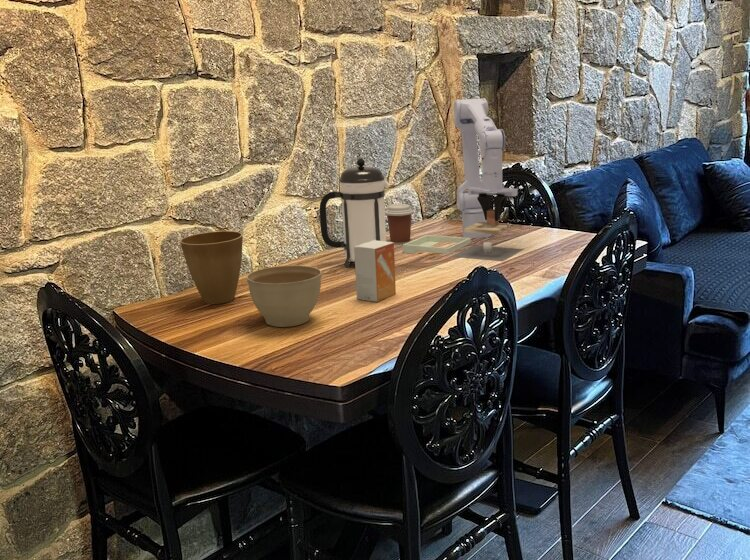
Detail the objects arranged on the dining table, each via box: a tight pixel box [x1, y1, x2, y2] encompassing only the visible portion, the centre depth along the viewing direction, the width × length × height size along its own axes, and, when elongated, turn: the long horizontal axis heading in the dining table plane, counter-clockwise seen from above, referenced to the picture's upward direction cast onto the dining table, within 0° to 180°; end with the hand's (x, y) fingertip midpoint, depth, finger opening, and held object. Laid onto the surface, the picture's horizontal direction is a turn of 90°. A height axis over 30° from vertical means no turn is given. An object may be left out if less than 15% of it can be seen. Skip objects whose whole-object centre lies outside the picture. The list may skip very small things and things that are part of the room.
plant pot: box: [179, 230, 244, 305], centre depth 175 cm, size 15×15×16 cm
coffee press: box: [319, 158, 391, 269], centre depth 203 cm, size 17×16×30 cm
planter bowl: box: [246, 265, 322, 328], centre depth 157 cm, size 16×16×11 cm
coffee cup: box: [385, 203, 414, 246], centre depth 231 cm, size 9×9×12 cm
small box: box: [354, 240, 397, 303], centre depth 172 cm, size 8×6×13 cm
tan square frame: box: [464, 208, 511, 235], centre depth 206 cm, size 10×10×5 cm
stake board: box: [450, 241, 524, 262], centre depth 208 cm, size 16×16×4 cm
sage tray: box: [401, 234, 472, 255], centre depth 220 cm, size 16×16×2 cm
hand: (492, 219), depth 209 cm, fingers closed on tan square frame, 2 cm apart
